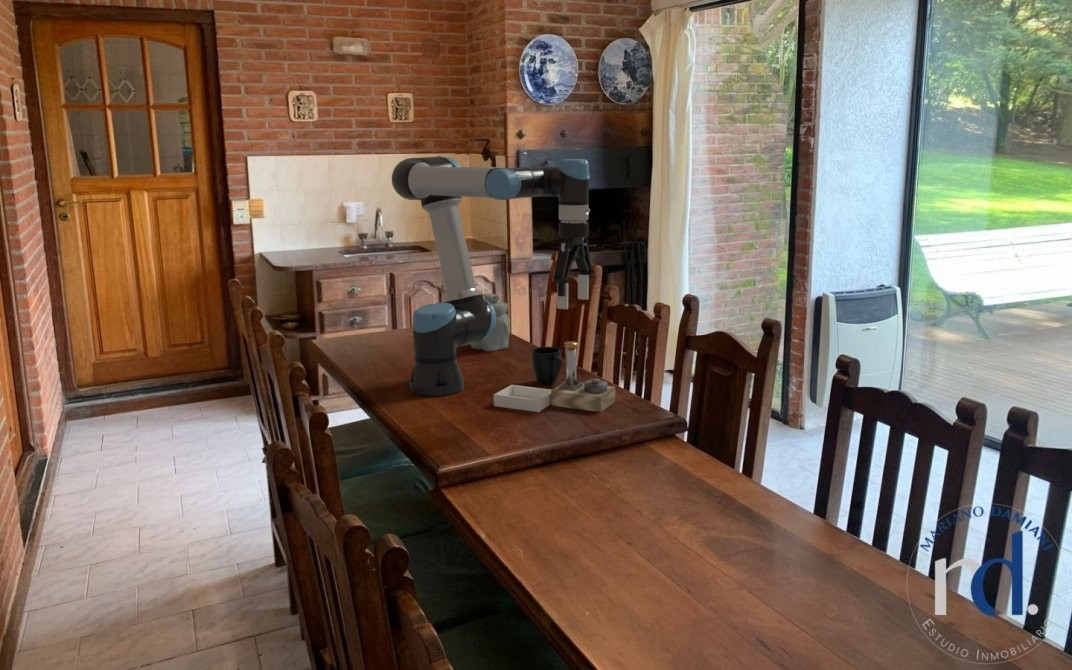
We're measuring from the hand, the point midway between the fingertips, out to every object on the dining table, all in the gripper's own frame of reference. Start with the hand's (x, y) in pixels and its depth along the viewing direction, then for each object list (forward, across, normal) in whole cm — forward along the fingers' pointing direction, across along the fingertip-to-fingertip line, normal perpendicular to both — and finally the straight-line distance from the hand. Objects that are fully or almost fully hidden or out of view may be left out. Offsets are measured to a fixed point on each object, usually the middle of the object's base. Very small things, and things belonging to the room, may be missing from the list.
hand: (573, 303), depth 222 cm
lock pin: (+22, -1, 0) cm, 22 cm away
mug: (+27, +12, +12) cm, 32 cm away
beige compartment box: (+26, -1, -4) cm, 26 cm away
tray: (+26, -7, +11) cm, 29 cm away
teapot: (+27, +45, +51) cm, 73 cm away
